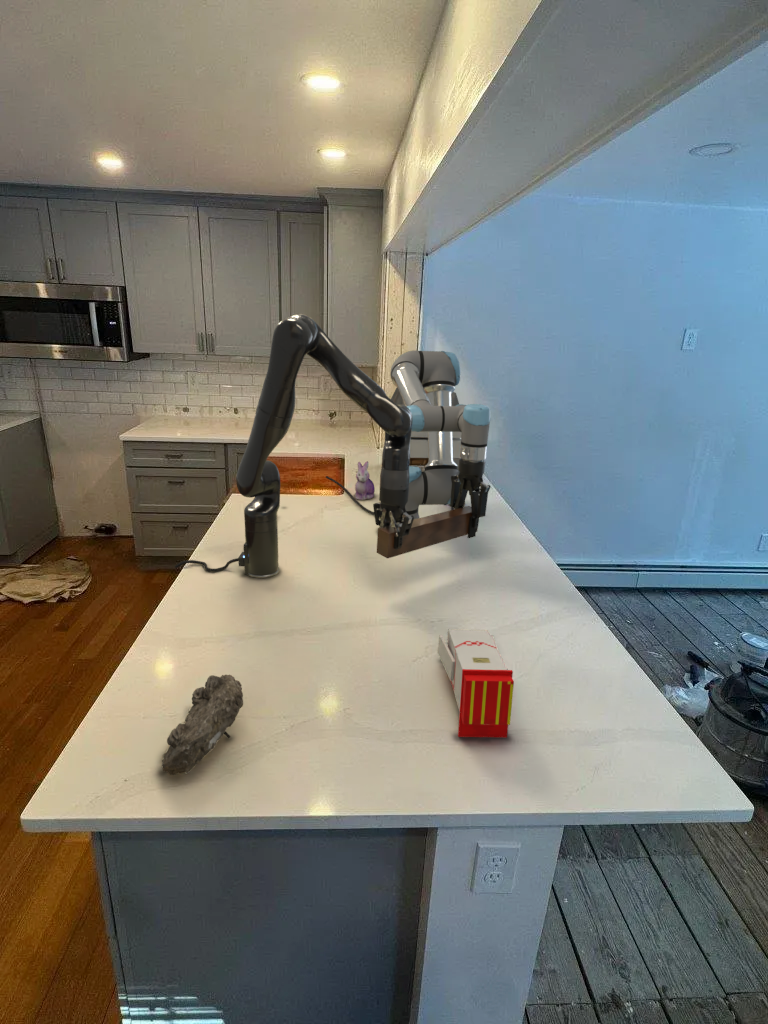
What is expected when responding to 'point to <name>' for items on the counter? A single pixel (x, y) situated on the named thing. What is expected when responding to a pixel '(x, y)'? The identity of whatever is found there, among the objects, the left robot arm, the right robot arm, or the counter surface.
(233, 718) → the fossil
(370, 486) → the figurine
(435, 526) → the plank
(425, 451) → the transformer
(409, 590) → the counter surface
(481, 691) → the toy
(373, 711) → the counter surface
